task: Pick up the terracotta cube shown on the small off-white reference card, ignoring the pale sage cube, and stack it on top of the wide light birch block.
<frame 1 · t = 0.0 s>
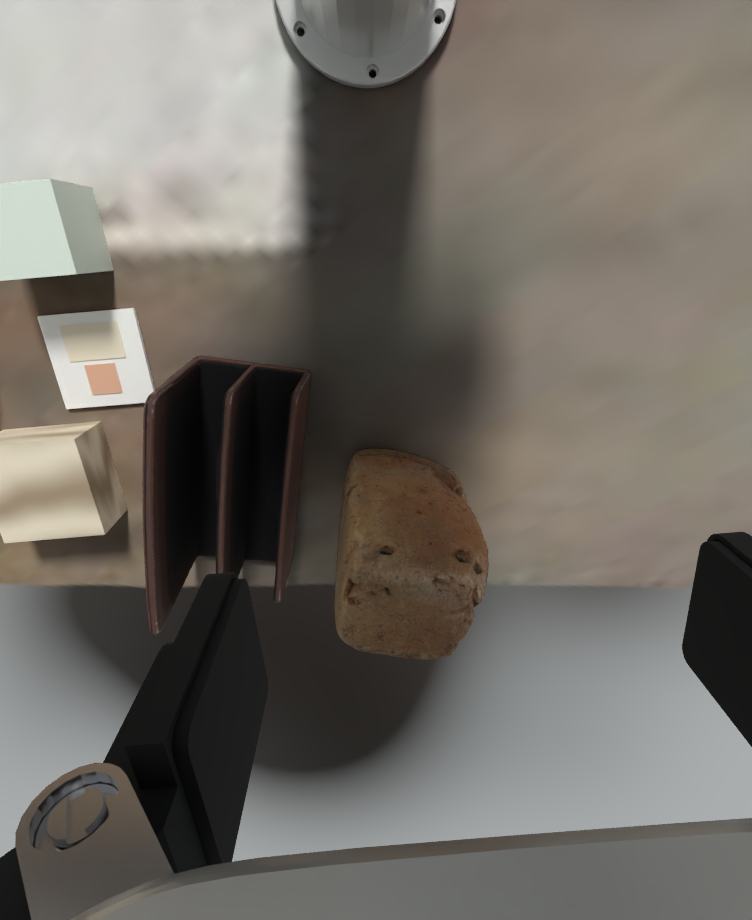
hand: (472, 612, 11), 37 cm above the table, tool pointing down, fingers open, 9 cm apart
sage cube: (66, 233, 41), on the table
birch block: (68, 470, 49), on the table
reference card: (100, 359, 45), on the table
letter holder: (249, 464, 50), on the table
block: (399, 482, 50), on the table
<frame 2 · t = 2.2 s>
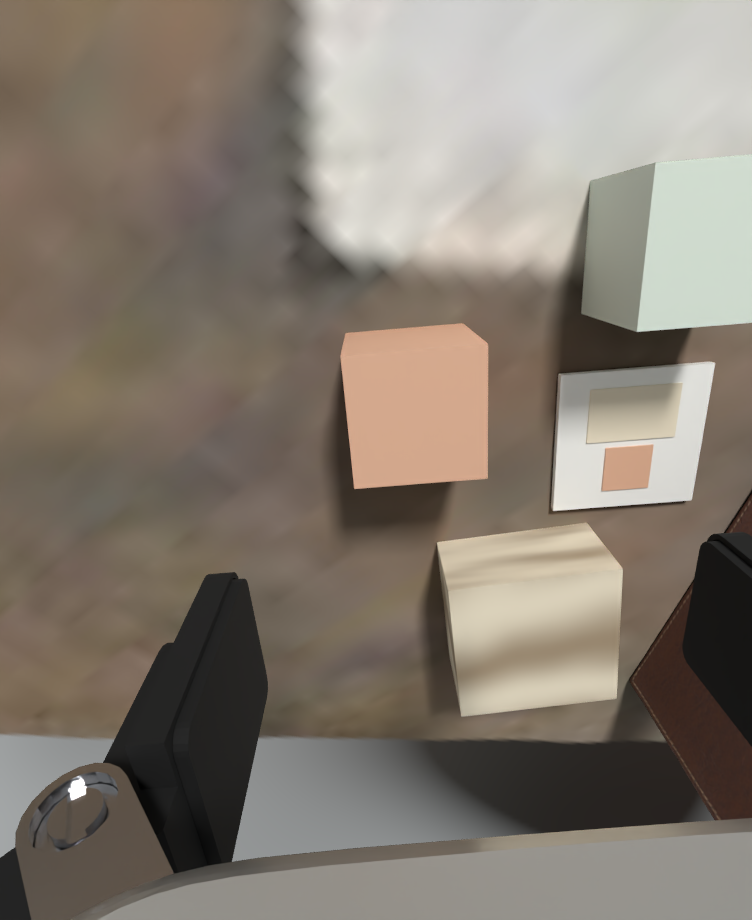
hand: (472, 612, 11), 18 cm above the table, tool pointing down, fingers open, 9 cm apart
sage cube: (646, 245, 25), on the table
terracotta cube: (407, 385, 28), on the table
birch block: (513, 591, 33), on the table
reference card: (626, 438, 29), on the table
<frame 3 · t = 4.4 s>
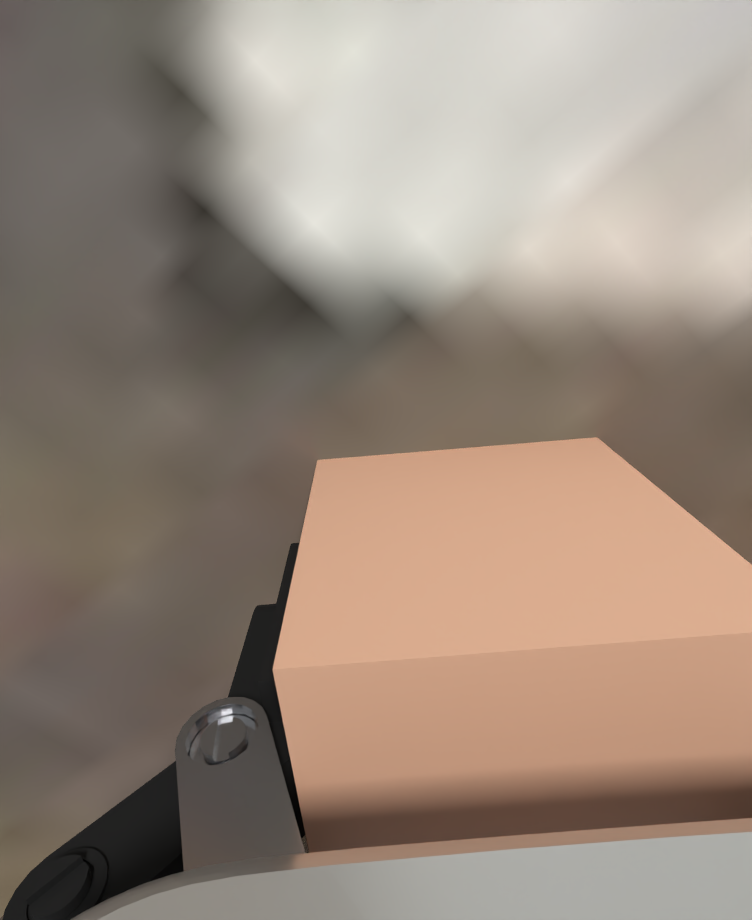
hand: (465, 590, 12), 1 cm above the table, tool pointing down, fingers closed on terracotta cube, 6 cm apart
terracotta cube: (459, 566, 12), on the table, touching gripper
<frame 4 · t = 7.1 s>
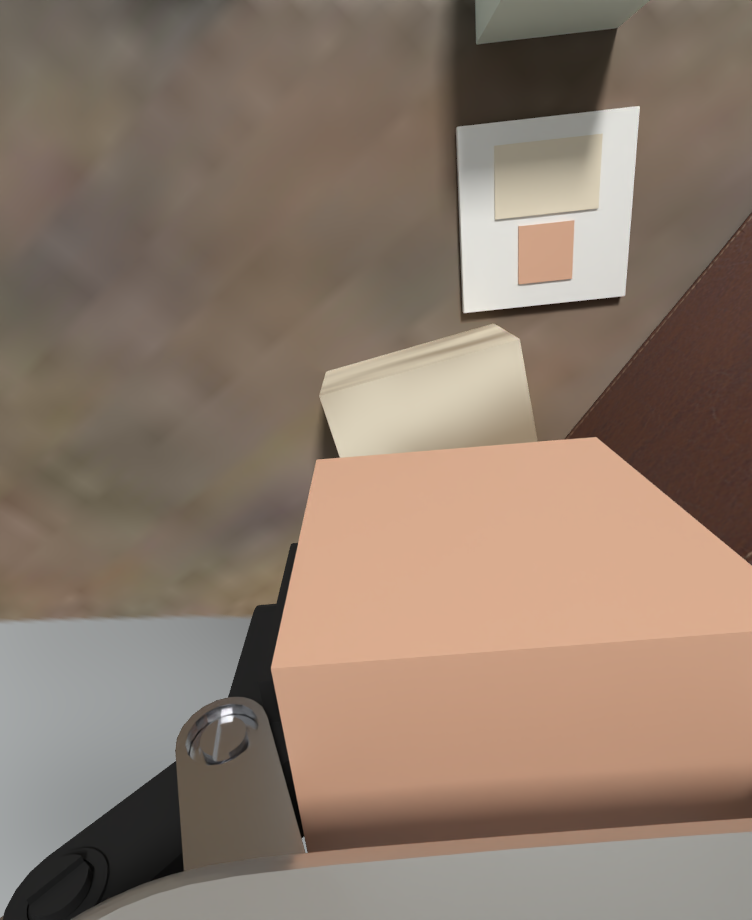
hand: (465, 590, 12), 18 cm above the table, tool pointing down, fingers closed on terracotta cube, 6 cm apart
terracotta cube: (458, 566, 12), point 17 cm above the table, touching gripper
birch block: (428, 425, 29), on the table
reference card: (543, 216, 25), on the table
letter holder: (700, 393, 29), on the table
when the fingers open (7 cm above the table, at t = 9.7 s): terracotta cube drops 2 cm, resting on birch block.
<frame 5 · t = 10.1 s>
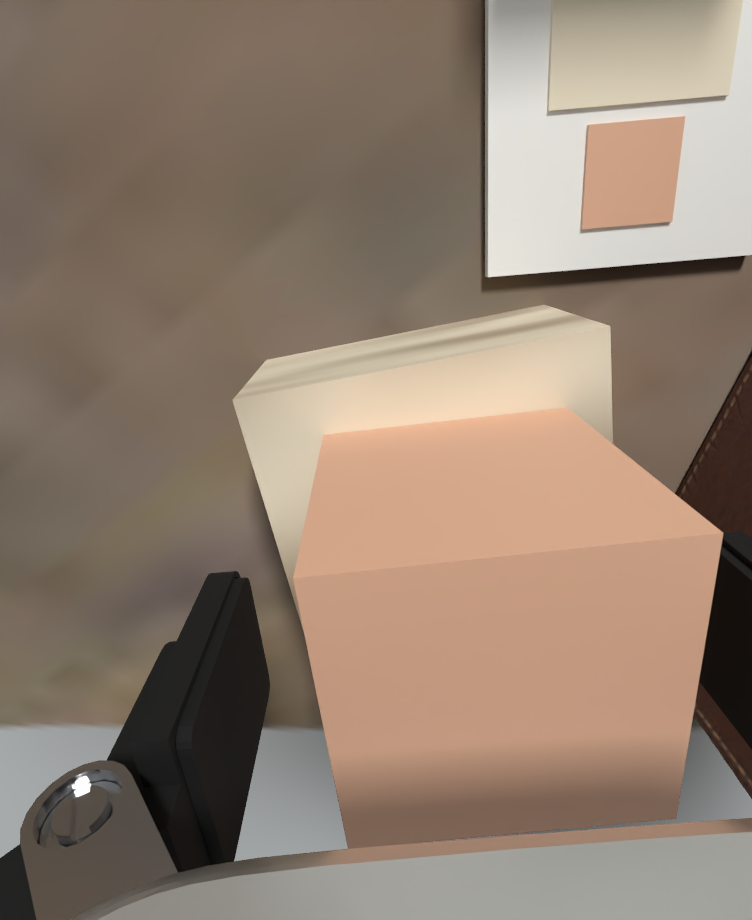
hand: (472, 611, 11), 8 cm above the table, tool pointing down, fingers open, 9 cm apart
terracotta cube: (451, 527, 14), point 5 cm above the table, touching birch block
birch block: (424, 458, 19), on the table, touching terracotta cube
reference card: (629, 111, 14), on the table
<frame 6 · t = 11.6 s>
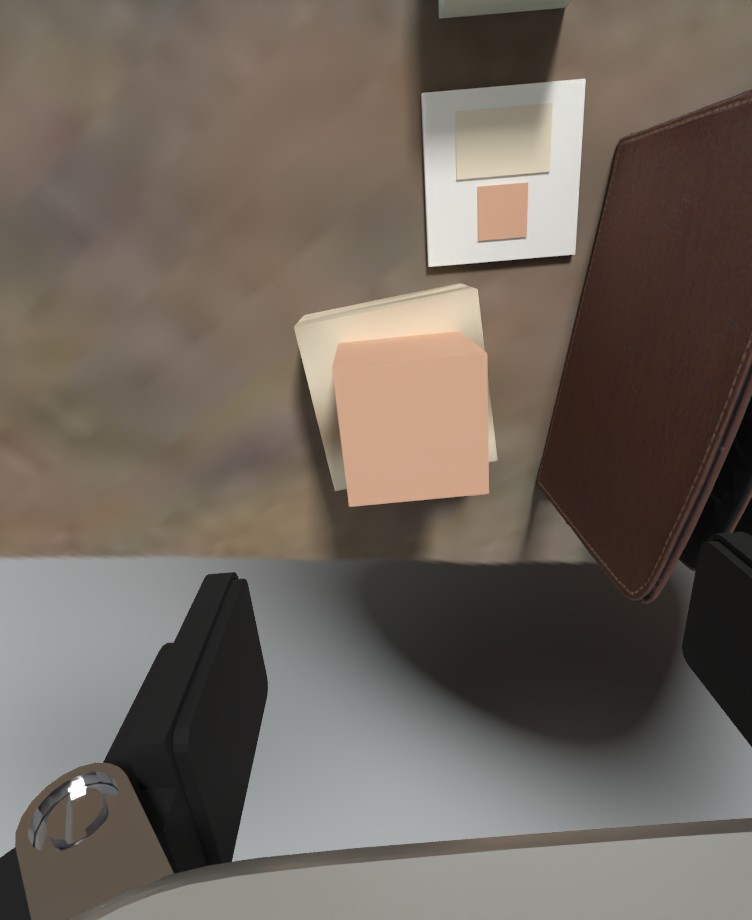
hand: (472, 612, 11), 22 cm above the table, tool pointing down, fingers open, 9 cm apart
terracotta cube: (403, 395, 27), point 5 cm above the table, touching birch block
birch block: (395, 375, 32), on the table, touching terracotta cube
reference card: (500, 179, 27), on the table
letter holder: (649, 339, 31), on the table
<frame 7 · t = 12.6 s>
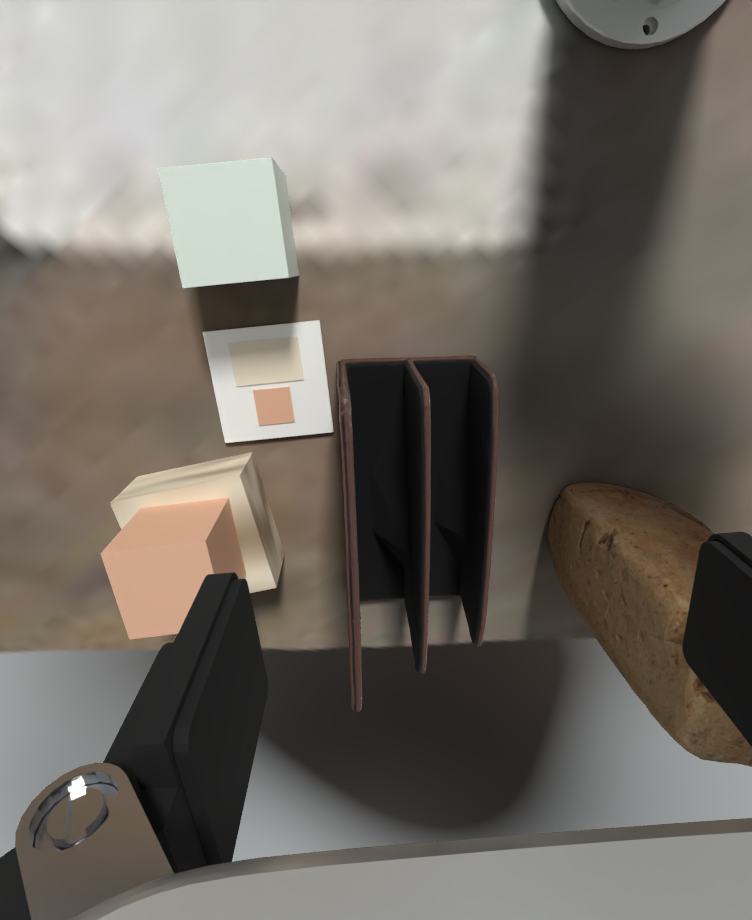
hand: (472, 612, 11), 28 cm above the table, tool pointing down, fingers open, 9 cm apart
sage cube: (246, 231, 34), on the table
terracotta cube: (194, 541, 36), point 5 cm above the table, touching birch block
birch block: (214, 515, 41), on the table, touching terracotta cube
reference card: (271, 382, 37), on the table
letter holder: (405, 482, 41), on the table
block: (604, 520, 43), on the table
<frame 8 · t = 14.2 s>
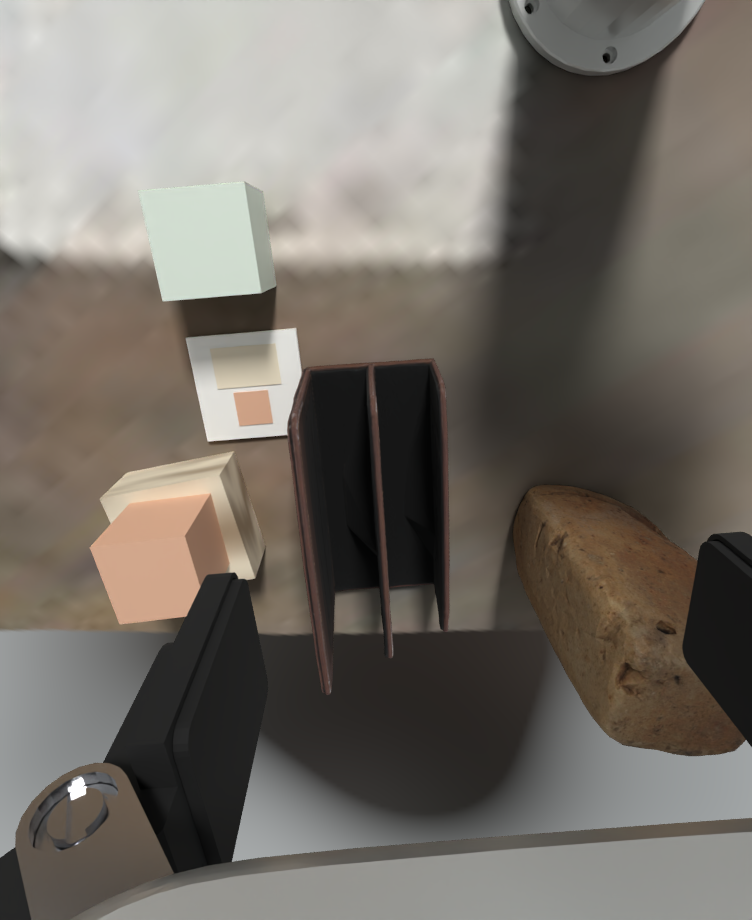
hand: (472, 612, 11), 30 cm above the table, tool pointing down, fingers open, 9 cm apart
sage cube: (226, 243, 36), on the table
terracotta cube: (181, 533, 39), point 5 cm above the table, touching birch block
birch block: (199, 509, 44), on the table, touching terracotta cube
reference card: (251, 386, 40), on the table
letter holder: (377, 479, 43), on the table
block: (568, 520, 45), on the table
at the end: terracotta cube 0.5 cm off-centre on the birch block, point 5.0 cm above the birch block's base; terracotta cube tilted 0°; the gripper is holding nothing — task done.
